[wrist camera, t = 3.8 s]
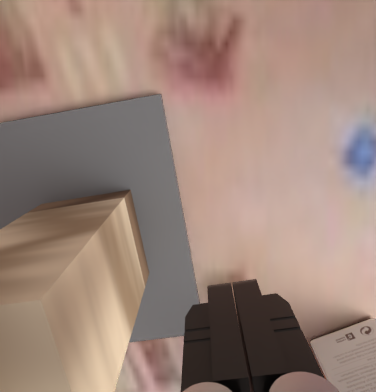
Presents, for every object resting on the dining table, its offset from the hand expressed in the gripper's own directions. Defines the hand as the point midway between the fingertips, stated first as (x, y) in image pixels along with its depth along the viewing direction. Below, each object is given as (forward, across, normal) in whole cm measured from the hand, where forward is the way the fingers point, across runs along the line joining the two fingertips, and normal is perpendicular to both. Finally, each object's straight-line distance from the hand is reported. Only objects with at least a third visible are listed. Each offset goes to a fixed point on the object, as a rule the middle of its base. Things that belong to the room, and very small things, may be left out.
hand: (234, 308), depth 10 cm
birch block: (+8, +7, 0) cm, 10 cm away
